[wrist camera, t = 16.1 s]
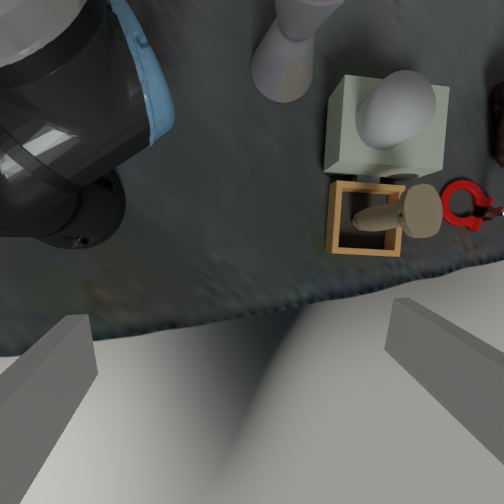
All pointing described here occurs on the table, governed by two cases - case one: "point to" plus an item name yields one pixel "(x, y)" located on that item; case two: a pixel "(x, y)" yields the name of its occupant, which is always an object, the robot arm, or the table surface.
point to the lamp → (290, 49)
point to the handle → (405, 213)
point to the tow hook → (480, 200)
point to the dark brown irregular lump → (499, 122)
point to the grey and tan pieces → (381, 142)
